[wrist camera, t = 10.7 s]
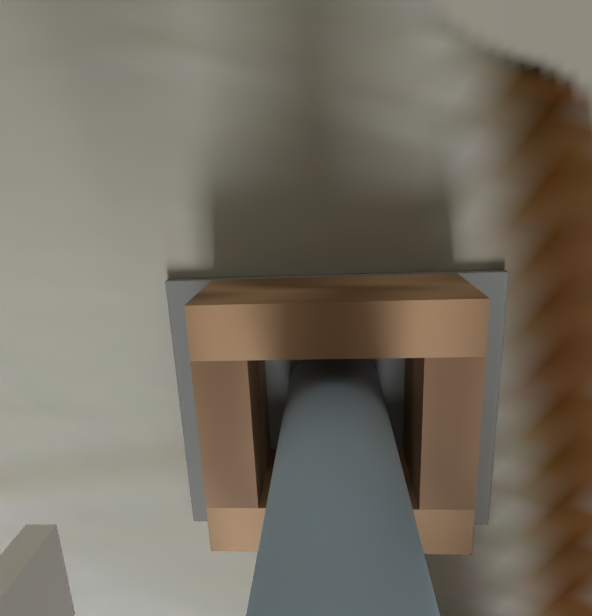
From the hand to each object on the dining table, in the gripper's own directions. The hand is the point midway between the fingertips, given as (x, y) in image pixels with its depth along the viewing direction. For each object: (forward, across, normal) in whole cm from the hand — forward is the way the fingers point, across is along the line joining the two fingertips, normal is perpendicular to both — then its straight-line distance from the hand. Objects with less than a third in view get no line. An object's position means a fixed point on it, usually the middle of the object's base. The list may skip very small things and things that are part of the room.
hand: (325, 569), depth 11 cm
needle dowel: (+10, 0, 0) cm, 10 cm away
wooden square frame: (+10, 0, 0) cm, 10 cm away
